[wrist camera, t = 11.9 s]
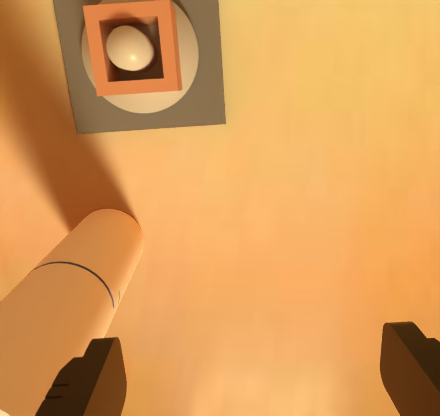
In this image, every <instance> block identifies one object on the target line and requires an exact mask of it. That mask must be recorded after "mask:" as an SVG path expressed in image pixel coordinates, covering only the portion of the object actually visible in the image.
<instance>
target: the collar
mask: <svg viewBox="0 0 440 416" xmlns="http://www.w3.org/2000/svg"><path fill="white" fill-rule="evenodd" d="M83 10H84V17H85V23H86V29H87V36H88V42H89V48H90V55H91V61H92V68H93V74H94V80H95V87H96V93H97V96H110V95H125V94H139V93H154V92H169V91H181V90H183V89H182V78H181V67H180V56H179V45H178V34H177V23H176V12H175V9H174V7H173V5H172V3H171V1H170V0H157V1H143V2H129V3H115V4H101V5H87V6H83ZM144 25H159V35H160V44H161V54H162V63H163V73H164V78H161V79H146V80H132V81H120V77H119V70H118V67H117V66H116V65H115V64H114V63H113V62H112V61H111V60H110V58H109V56H108V53H107V48H106V44H107V39H108V37H109V35H110V33H111V32H112V31H113V28H116V27H120V26H144Z"/></svg>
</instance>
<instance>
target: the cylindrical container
mask: <svg viewBox="0 0 440 416" xmlns="http://www.w3.org/2000/svg"><path fill="white" fill-rule="evenodd" d="M143 248H144V236H143V232H142V230H141V228H140V226H139V225H138V223H137V222H136V221H135V220H134V219H133V218H132V217H131V216H129V215H128V214H126V213H124V212H122V211H119V210H116V209H100V210H97V211H94V212H92V213H90V214H89V215H88V216H86V217H85V218H84V219H83V220H82V221H81V222H80V223H79V224H78V225H77V226H76V227H75V228H74V229H73V230H72V231H71V232H70V233H69V234H68V235H67V236H66V237H65V238H64V239H63V240H62V241H61V242H60V243H59V244H58V245H57V246H56V247H55V248H54V249H53V250H52V251H51V252H50V253H49V254H48V255H47V256H46V257H45V258H44V259H43V260H42V261H41V262H40V263H39V264H38V265H37V266H36V267H35V268H34V269H33V270H32V271H31V272H30V273H29V274H28V275H27V276H26V277H25V278H24V279H23V280H22V281H21V282H20V283H19V284H18V285H17V286H16V287H15V288H14V289H13V290H12V291H11V292H10V293H9V294H8V295H7V296H6V297H5V298H4V299H3V300H2V301H1V302H0V416H35V414H36V412H37V410H38V409H39V407H40V405H41V403H42V401H43V400H45V396H46V394H47V392H48V391H49V389H50V388H51V387H52V383H53V382H54V380H55V378H56V376H57V374H58V373H59V371H60V370H61V369H62V368H63V367H64V366H65V365H66V364H67V363H68V362H69V361H70V360H71V359H72V358H74V357H83V355H84V353H85V351H86V349H87V347H88V345H89V343H90V341H91V340H92V339H96V338H104V336H105V334H106V332H107V330H108V328H109V325H110V323H111V321H112V319H113V316H114V314H115V312H116V310H117V308H118V305H119V303H120V301H121V299H122V296H123V294H124V292H125V290H126V287H127V285H128V283H129V281H130V279H131V276H132V274H133V272H134V270H135V267H136V265H137V263H138V261H139V258H140V256H141V254H142V252H143Z"/></svg>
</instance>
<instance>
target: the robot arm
mask: <svg viewBox="0 0 440 416" xmlns="http://www.w3.org/2000/svg"><path fill="white" fill-rule="evenodd" d="M380 373H381V378H382V381H383V384H384V387H385V389H386V391H387V392H388V394H389V396H390V398H391V400H392V401H393V403H394V405H395V407H396V409H397V410H398V412H399V414H400V416H440V342H439V341H438V340H436V339H435V338H426V337H425V335H424V334H423V333H422V332H421V331H420V329H419V328H418V327H417V326H416V325H415V324H414V323H413V322H393V323H385V324H384V326H383V333H382V346H381V358H380ZM126 388H127V382H126V374H125V368H124V362H123V356H122V350H121V344H120V340H119V338H118V337H114V338H96V339H92V340H91V341H90V343H89V345H88V347H87V349H86V351H85V353H84V355H83V357H74V358H72V359H71V360H70V361H69V362H68V363H67V364H66V365H65V366H64V367H63V368H62V369H61V370H60V371H59V373H58V374H57V376H56V378H55V380H54V382H53V383H52V387H51V388H50V389H49V391H48V392H47V394H46V396H45V400H43V401H42V403H41V405H40V407H39V409H38V410H37V412H36V414H35V416H121V412H122V409H123V405H124V402H125V398H126Z"/></svg>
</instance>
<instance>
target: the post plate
mask: <svg viewBox="0 0 440 416" xmlns="http://www.w3.org/2000/svg"><path fill="white" fill-rule="evenodd" d="M143 1H157V0H53V3H54V9H55V14H56V20H57V25H58V31H59V36H60V42H61V48H62V53H63V59H64V64H65V70H66V75H67V81H68V87H69V92H70V98H71V103H72V109H73V114H74V120H75V126H76V131H77V134H86V133H101V132H115V131H130V130H144V129H159V128H174V127H188V126H203V125H218V124H226V119H225V102H224V86H223V69H222V53H221V36H220V20H219V3H218V0H170V1H171V3H172V5H173V7H174V9H175V12H176V23H177V34H178V45H179V56H180V67H181V78H182V89H183V90H181V91H169V92H154V93H139V94H125V95H110V96H97V93H96V87H95V80H94V74H93V68H92V61H91V55H90V48H89V42H88V36H87V29H86V23H85V17H84V10H83V6H87V5H101V4H115V3H129V2H143ZM106 48H107V53H108V56H109V58H110V60H111V61H112V62H113V63H114V64H115V65H116V66H117V67H118V70H119V77H120V81H132V80H146V79H161V78H164V73H163V63H162V54H161V44H160V35H159V25H144V26H120V27H116V28H113V31H112V32H111V33H110V35H109V37H108V39H107V44H106Z"/></svg>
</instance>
